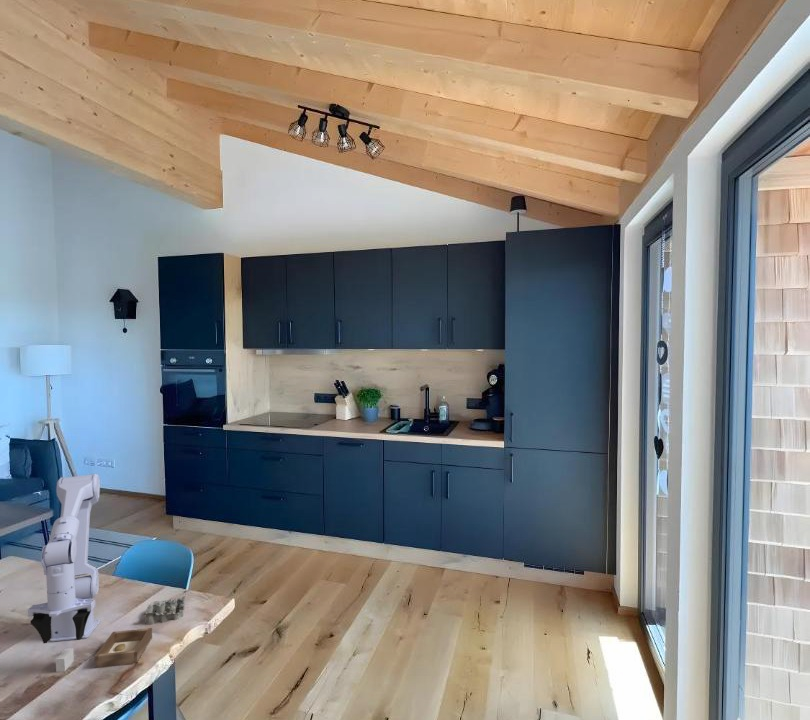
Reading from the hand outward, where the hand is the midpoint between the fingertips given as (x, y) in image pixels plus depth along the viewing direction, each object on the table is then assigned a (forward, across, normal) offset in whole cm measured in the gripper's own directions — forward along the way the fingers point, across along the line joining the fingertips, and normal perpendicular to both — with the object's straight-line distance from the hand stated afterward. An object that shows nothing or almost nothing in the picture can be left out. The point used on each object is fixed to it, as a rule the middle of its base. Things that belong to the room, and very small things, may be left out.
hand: (63, 639), depth 119 cm
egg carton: (+8, +18, +19) cm, 27 cm away
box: (+7, +13, +3) cm, 15 cm away
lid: (+8, 0, 0) cm, 8 cm away
